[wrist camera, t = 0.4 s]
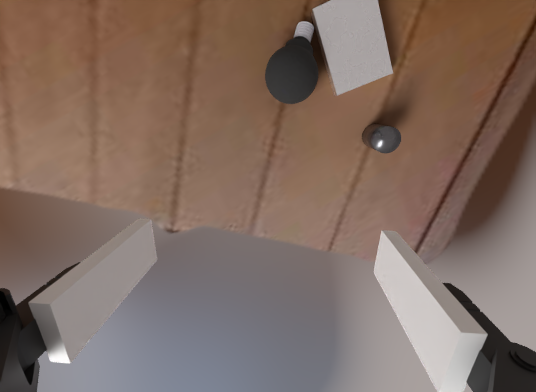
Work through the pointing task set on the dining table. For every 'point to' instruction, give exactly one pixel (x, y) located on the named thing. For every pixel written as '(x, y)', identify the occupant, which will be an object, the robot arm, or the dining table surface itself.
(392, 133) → the cylinder
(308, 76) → the light bulb
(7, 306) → the robot arm
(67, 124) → the dining table surface
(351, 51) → the white stone flat block
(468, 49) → the dining table surface
